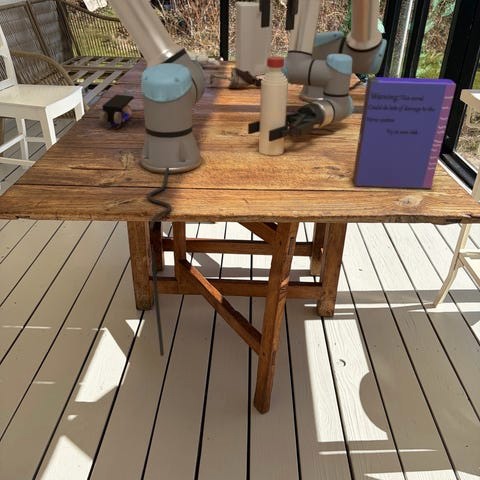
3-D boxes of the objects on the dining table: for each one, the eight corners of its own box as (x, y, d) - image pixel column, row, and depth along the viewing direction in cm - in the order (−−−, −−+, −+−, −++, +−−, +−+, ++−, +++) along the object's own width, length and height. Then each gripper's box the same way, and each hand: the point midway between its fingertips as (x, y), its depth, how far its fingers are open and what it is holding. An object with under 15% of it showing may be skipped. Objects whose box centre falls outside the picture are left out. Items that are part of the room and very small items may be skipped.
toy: (175, 75, 210) (174, 58, 206) (151, 64, 228) (150, 49, 224) (222, 69, 222) (222, 53, 218) (195, 59, 239) (195, 45, 236)
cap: (286, 65, 121) (286, 57, 120) (279, 68, 118) (279, 60, 117) (271, 63, 123) (271, 55, 122) (264, 66, 119) (264, 58, 118)
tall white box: (273, 76, 210) (276, 6, 196) (239, 77, 209) (240, 6, 194) (266, 67, 226) (268, 2, 212) (235, 67, 225) (235, 1, 210)
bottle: (287, 149, 133) (293, 58, 121) (277, 157, 128) (282, 63, 115) (265, 144, 136) (269, 56, 123) (254, 152, 131) (257, 60, 118)
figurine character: (122, 135, 144) (137, 116, 156) (118, 111, 140) (134, 93, 152) (101, 134, 145) (117, 115, 157) (96, 110, 140) (113, 92, 152)
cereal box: (425, 180, 115) (449, 78, 103) (430, 188, 111) (456, 83, 99) (352, 177, 116) (367, 76, 104) (355, 186, 112) (371, 81, 100)
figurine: (210, 87, 179) (288, 95, 182) (212, 65, 176) (291, 73, 180) (208, 84, 201) (278, 91, 205) (210, 64, 198) (280, 71, 202)
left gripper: (237, -87, 106) (236, 26, 118) (313, -90, 96) (303, 34, 108) (256, -85, 111) (253, 23, 123) (330, -87, 101) (319, 30, 113)
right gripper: (340, 136, 135) (286, 156, 121) (287, 120, 147) (233, 136, 134) (343, 110, 131) (288, 127, 118) (289, 96, 143) (233, 110, 130)
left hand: (277, 28), depth 116 cm, fingers open, 6 cm apart
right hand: (259, 132), depth 126 cm, fingers closed on bottle, 7 cm apart
